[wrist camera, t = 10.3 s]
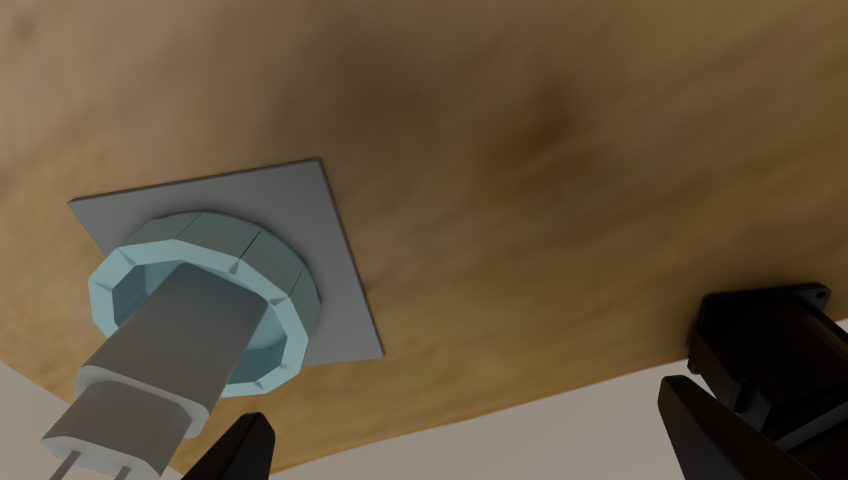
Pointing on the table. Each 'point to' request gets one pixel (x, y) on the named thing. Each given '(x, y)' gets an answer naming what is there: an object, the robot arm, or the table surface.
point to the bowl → (230, 259)
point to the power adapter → (156, 377)
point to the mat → (275, 211)
